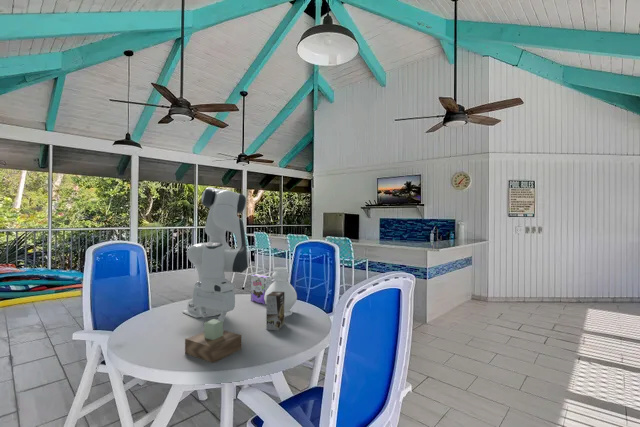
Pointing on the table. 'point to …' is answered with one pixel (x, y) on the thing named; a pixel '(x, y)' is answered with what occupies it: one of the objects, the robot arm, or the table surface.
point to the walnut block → (212, 346)
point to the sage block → (213, 329)
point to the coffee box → (275, 311)
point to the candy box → (259, 287)
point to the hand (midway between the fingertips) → (212, 319)
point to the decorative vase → (282, 289)
